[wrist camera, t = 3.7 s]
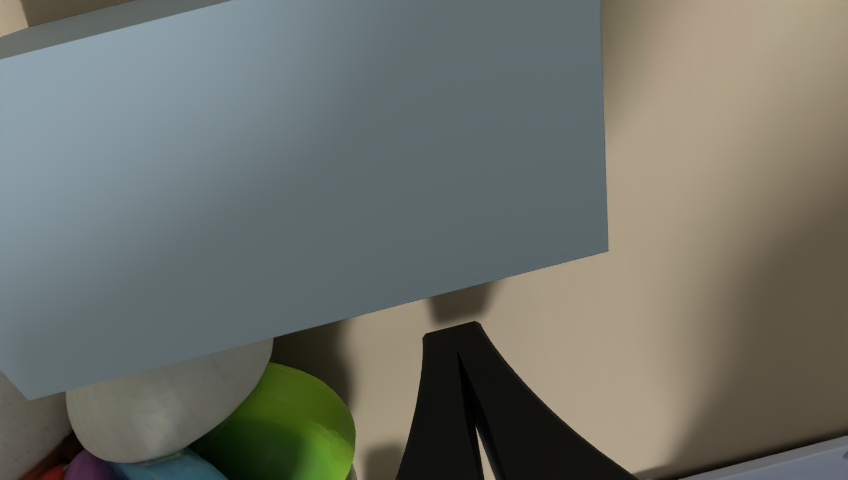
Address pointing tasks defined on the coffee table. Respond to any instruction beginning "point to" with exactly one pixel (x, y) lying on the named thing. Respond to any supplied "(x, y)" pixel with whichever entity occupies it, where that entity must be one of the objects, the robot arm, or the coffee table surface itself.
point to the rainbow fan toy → (183, 425)
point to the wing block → (282, 169)
